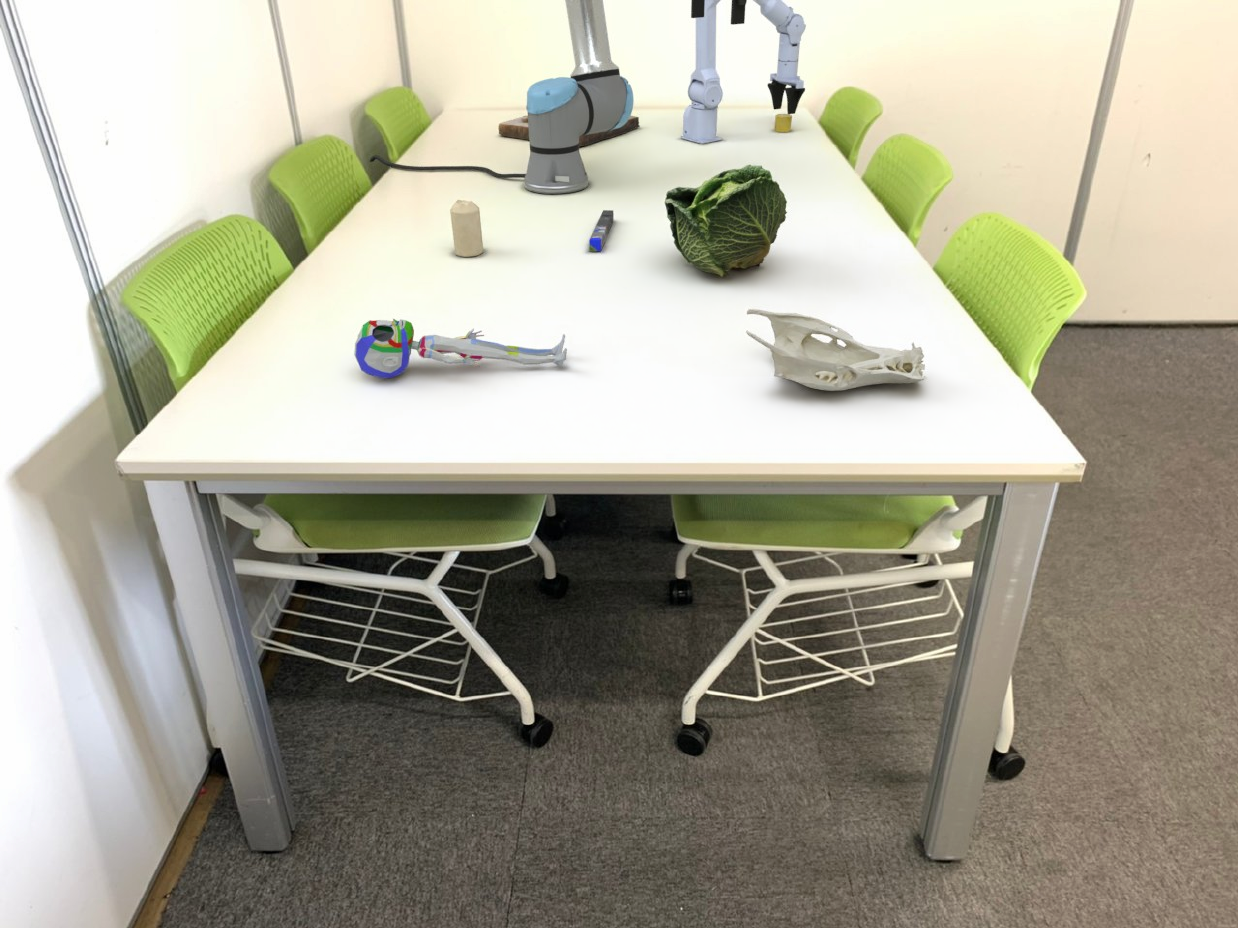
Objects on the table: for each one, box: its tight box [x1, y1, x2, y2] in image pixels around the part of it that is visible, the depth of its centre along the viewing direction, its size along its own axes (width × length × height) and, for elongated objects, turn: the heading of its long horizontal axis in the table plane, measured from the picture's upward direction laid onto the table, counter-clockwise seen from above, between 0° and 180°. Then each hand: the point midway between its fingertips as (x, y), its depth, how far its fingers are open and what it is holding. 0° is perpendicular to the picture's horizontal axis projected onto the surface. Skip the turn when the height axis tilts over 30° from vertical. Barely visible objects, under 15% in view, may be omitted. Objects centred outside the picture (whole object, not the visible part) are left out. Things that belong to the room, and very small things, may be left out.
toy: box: [353, 318, 568, 379], centre depth 130 cm, size 10×8×30 cm
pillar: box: [588, 209, 615, 252], centre depth 182 cm, size 2×2×20 cm
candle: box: [449, 199, 484, 258], centre depth 172 cm, size 6×6×10 cm
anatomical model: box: [745, 308, 927, 392], centre depth 125 cm, size 15×9×25 cm
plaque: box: [498, 114, 641, 148], centre depth 262 cm, size 30×7×30 cm
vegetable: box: [664, 164, 788, 278], centre depth 161 cm, size 20×19×20 cm
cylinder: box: [773, 113, 793, 133], centre depth 261 cm, size 5×5×4 cm
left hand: (717, 21), depth 177 cm, fingers open, 13 cm apart
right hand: (784, 111), depth 259 cm, fingers open, 7 cm apart
